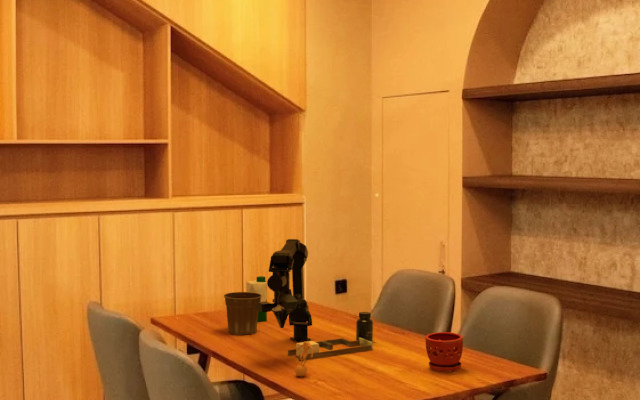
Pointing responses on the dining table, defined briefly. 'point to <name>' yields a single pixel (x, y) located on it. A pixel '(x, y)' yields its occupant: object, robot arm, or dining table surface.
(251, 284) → the milk carton
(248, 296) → the plant pot
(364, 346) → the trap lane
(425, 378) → the dining table surface
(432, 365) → the plant pot
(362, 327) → the supplement bottle
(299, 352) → the cream block
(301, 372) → the figurine
